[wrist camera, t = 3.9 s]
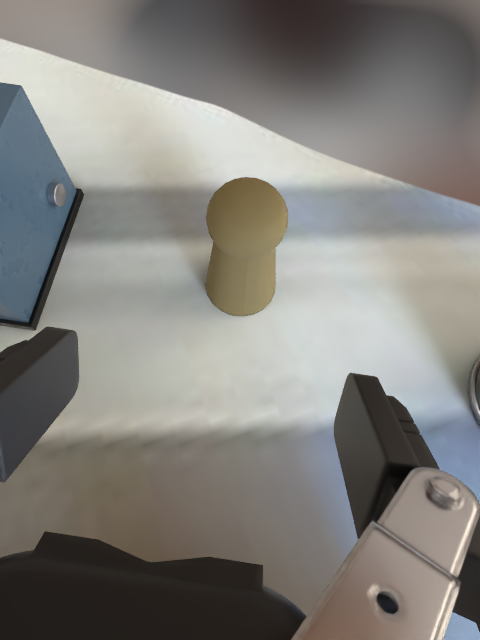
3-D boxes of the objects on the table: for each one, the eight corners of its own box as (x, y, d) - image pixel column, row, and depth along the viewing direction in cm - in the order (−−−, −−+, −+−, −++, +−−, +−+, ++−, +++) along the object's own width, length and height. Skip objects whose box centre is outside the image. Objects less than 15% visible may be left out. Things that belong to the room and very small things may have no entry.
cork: (215, 246, 35) (213, 152, 24) (281, 262, 34) (307, 173, 24) (197, 306, 32) (185, 230, 22) (267, 323, 32) (288, 255, 22)
